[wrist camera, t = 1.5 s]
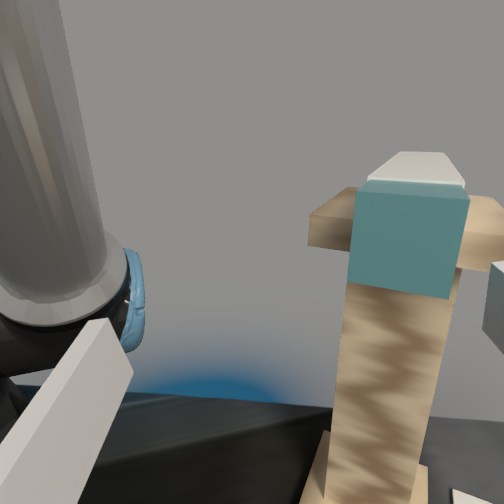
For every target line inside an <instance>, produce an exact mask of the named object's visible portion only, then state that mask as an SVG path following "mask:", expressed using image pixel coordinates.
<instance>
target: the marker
mask: <svg viewBox="0 0 504 504" xmlns="http://www.w3.org/2000/svg"><path fill="white" fill-rule="evenodd" d="M464 186H465V181H464V179H463V178H462V177H461V175H460V174H459V173H458V171H457V170H456V168H455V167H454V166H453V164H452V163H451V161H450V160H449V159H448V157H447V156H446V154H445V153H438V152H402V151H400V152H399V153H398V154H397V155H395V156H394V157H392V158H391V159H390V160H388V161H387V162H386V163H385V164H383V165H382V166H381V167H379V168H378V169H377V170H376V171H374V172H373V173H372V174H370V175H369V176H368V180H367V182H366V183H365V184H364V185H363V186H362V187H361V188H359V189H358V190H357V191H356V198H355V208H354V217H353V227H352V236H351V246H350V255H349V265H348V274H347V281H348V282H353V283H359V284H364V285H370V286H375V287H381V288H386V289H392V290H397V291H403V292H408V293H414V294H419V295H425V296H430V297H436V298H441V299H447V300H449V296H450V292H451V287H452V283H453V278H454V274H455V269H456V264H457V260H458V255H459V251H460V246H461V241H462V237H463V232H464V228H465V223H466V219H467V214H468V209H469V205H470V198H469V196H468V195H467V193H466V192H465V190H464Z"/></svg>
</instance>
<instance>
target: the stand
mask: <svg viewBox="0 0 504 504" xmlns="http://www.w3.org/2000/svg"><path fill="white" fill-rule="evenodd" d="M358 189H359V188H357V187H347V188H345V189H344V190H343V191H341V192H340V193H338V194H337V195H336V196H335V197H333V198H332V199H330V200H329V201H327V202H326V203H325V204H323V205H322V206H321V207H319V208H318V209H316V210H315V211H314V212H312V213H311V214H310V215H309V231H308V246H313V247H320V248H327V249H334V250H341V251H347V252H350V246H351V236H352V227H353V217H354V208H355V198H356V191H357V190H358ZM468 196H469V195H468ZM469 198H470V205H469V209H468V214H467V219H466V223H465V228H464V232H463V237H462V241H461V246H460V251H459V255H458V260H457V264H456V269H455V274H454V278H453V283H452V287H451V292H450V296H449V300H447V299H441V298H436V297H430V296H425V295H419V294H414V293H408V292H403V291H397V290H392V289H386V288H381V287H375V286H370V285H364V284H359V283H353V282H348V281H347V285H346V293H345V303H344V312H343V322H342V332H341V341H340V350H339V360H338V369H337V378H336V388H335V397H334V407H333V416H332V426H331V432H329V431H326V430H324V432H323V435H322V438H321V441H320V444H319V446H318V449H317V452H316V455H315V458H314V461H313V464H312V467H311V470H310V473H309V476H308V479H307V482H306V485H305V488H304V491H303V494H302V496H301V499H300V502H299V504H428V467H426V466H423V465H420V464H418V463H419V459H420V454H421V450H422V445H423V441H424V436H425V432H426V427H427V423H428V419H429V414H430V410H431V405H432V401H433V396H434V392H435V387H436V383H437V378H438V374H439V370H440V365H441V361H442V356H443V352H444V347H445V343H446V339H447V334H448V330H449V325H450V321H451V316H452V312H453V307H454V303H455V299H456V294H457V289H458V285H459V281H460V276H461V272H462V268H465V269H471V270H478V271H485V272H490V267H491V262H498V261H504V209H503V208H502V207H501V206H500V205H499V204H498V203H497V202H496V201H495V200H494V199H493V198H492V197H484V196H469Z"/></svg>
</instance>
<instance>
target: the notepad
mask: <svg viewBox="0 0 504 504" xmlns="http://www.w3.org/2000/svg"><path fill="white" fill-rule="evenodd" d="M452 498H453V504H492V503H489V502H487V501H484V500H481V499H479V498H476V497H473V496H471V495H468V494H465V493H463V492H460V491H457V490H454V489H453V490H452Z"/></svg>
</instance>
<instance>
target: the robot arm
mask: <svg viewBox="0 0 504 504" xmlns="http://www.w3.org/2000/svg"><path fill="white" fill-rule="evenodd" d="M144 303H145V291H144V280H143V272H142V266H141V261H140V258H139V255H138V253H137V252H135V251H133V250H131V249H125V248H122V246H121V244H120V243H119V242H118V240H117V239H116V238H115V237H114V236H112V235H111V234H110V233H109V232H107V231H106V230H104V229H103V224H102V218H101V214H100V208H99V203H98V198H97V193H96V188H95V183H94V178H93V174H92V168H91V163H90V158H89V153H88V148H87V143H86V137H85V133H84V127H83V122H82V117H81V112H80V107H79V102H78V97H77V92H76V87H75V82H74V76H73V72H72V66H71V61H70V56H69V51H68V46H67V41H66V36H65V31H64V26H63V21H62V16H61V11H60V6H59V1H58V0H0V504H77V502H78V500H79V498H80V496H81V493H82V491H83V489H84V486H85V484H86V482H87V479H88V477H89V475H90V473H91V470H92V468H93V466H94V463H95V461H96V459H97V457H98V454H99V452H100V450H101V447H102V445H103V443H104V440H105V438H106V436H107V434H108V431H109V429H110V427H111V424H112V422H113V420H114V417H115V415H116V413H117V411H118V408H119V406H120V404H121V401H122V399H123V397H124V394H125V392H126V390H127V387H128V385H129V383H130V381H131V378H132V376H133V374H134V371H133V370H132V367H131V365H130V363H129V361H128V359H127V357H126V355H125V353H127V352H131V351H133V350H135V349H136V348H137V347H138V346H139V345H140V343H141V341H142V338H143V334H144V326H145V312H144ZM482 330H483V331H484V332H485V333H486V335H487V336H488V337H489V338H490V339H491V340H492V341H493V343H494V344H495V345H496V346H497V347H498V349H499V350H500V351H501V352H502V353H503V354H504V261H498V262H491V267H490V275H489V282H488V290H487V297H486V304H485V312H484V319H483V326H482ZM52 368H54V370H53V371H52V373H51V374H50V376H49V377H48V378H47V380H46V381H45V382H44V384H43V385H42V387H41V388H40V389H39V391H38V392H37V394H36V395H35V396H34V398H33V399H32V401H31V402H30V400H29V399H28V398H27V397H26V396H25V395H24V394H23V393H22V392H21V390H20V389H19V388H18V387H17V386H16V385H15V384H14V383H13V382H12V381H11V380H10V378H9V377H11V376H16V375H21V374H26V373H32V372H37V371H42V370H47V369H52Z"/></svg>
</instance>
